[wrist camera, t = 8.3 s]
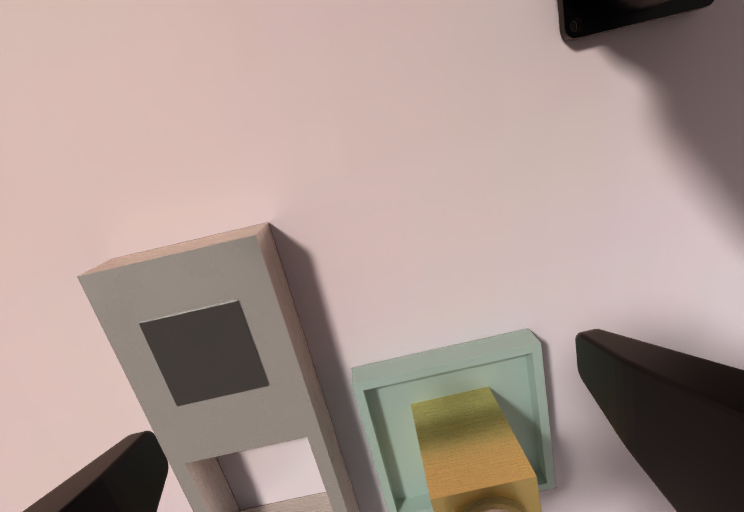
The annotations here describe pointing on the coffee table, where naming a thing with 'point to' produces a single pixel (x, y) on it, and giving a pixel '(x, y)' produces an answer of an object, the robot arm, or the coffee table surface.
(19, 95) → the coffee table surface
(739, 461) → the robot arm
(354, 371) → the parts tray
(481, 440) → the brass block with knob
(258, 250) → the grey slotted plate
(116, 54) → the coffee table surface
